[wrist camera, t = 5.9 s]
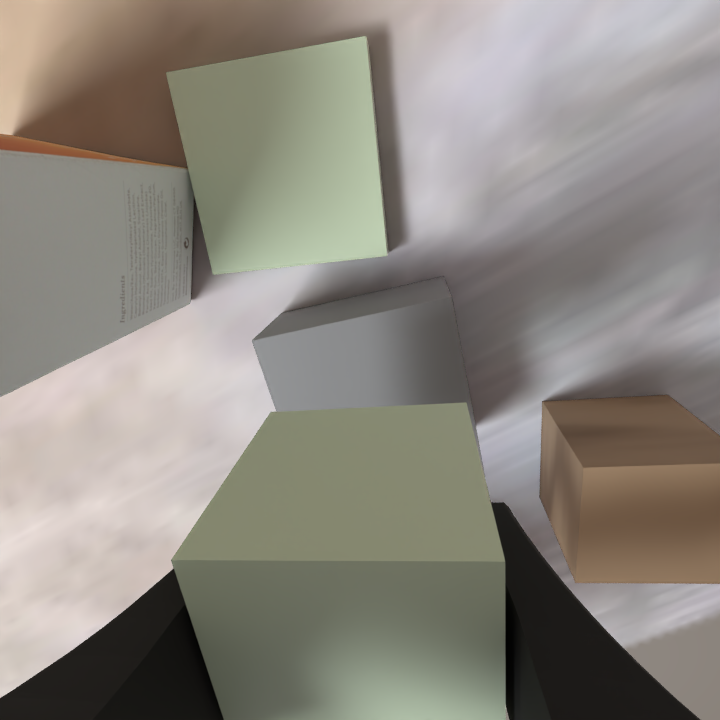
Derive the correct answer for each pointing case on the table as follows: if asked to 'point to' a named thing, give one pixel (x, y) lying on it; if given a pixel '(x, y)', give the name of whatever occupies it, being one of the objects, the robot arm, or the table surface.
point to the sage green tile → (284, 156)
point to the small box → (85, 252)
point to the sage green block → (352, 571)
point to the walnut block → (632, 490)
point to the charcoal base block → (367, 352)
